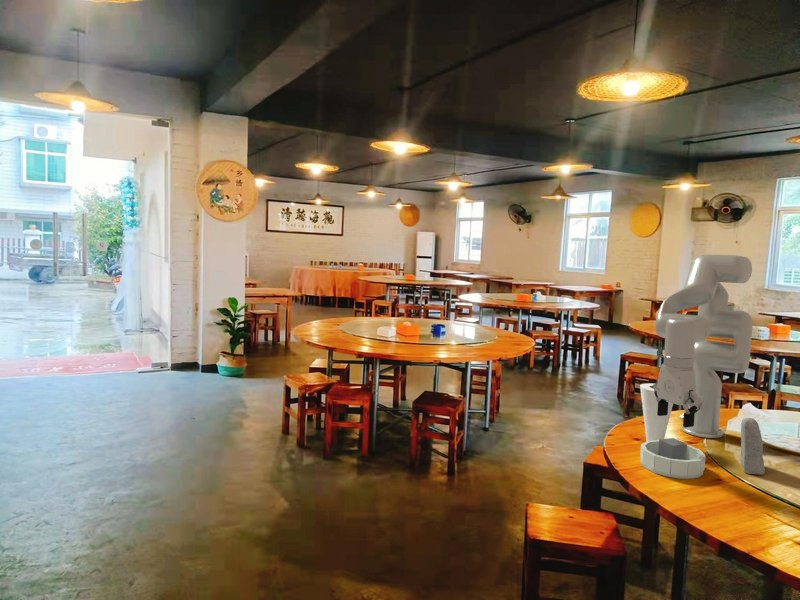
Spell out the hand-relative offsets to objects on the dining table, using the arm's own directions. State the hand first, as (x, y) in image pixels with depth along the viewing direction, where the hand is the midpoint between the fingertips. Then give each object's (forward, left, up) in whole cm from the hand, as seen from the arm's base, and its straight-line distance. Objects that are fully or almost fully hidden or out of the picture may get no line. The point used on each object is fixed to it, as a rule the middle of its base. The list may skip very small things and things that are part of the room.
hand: (674, 420), depth 154 cm
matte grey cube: (0, 0, -13) cm, 13 cm away
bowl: (0, 0, -14) cm, 14 cm away
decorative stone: (+6, +22, -14) cm, 26 cm away
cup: (-18, +10, -14) cm, 24 cm away
